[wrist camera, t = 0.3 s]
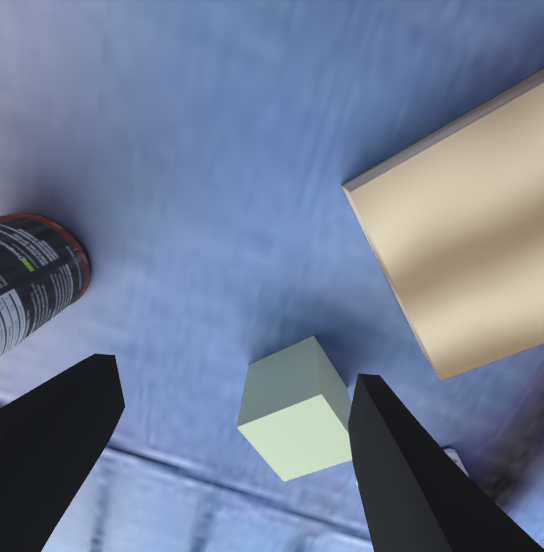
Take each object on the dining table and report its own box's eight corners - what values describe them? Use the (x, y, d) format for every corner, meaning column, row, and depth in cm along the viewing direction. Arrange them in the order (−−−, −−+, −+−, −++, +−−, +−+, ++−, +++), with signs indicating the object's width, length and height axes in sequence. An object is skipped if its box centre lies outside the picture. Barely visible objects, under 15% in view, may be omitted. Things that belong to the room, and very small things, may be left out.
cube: (347, 387, 21) (363, 455, 16) (285, 411, 22) (283, 481, 17) (313, 334, 19) (321, 394, 14) (248, 364, 20) (236, 427, 16)
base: (639, 266, 16) (698, 286, 14) (422, 352, 19) (441, 380, 17) (606, 32, 12) (678, 6, 10) (340, 185, 15) (350, 192, 13)
